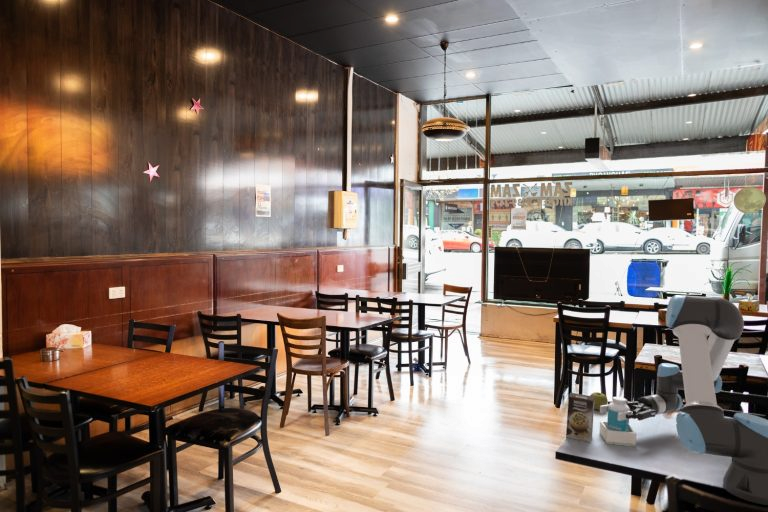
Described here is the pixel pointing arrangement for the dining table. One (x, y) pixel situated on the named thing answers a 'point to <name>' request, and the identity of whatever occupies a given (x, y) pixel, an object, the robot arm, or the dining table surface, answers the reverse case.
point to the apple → (599, 400)
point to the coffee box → (580, 417)
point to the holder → (618, 436)
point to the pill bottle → (613, 410)
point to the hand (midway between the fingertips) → (609, 413)
